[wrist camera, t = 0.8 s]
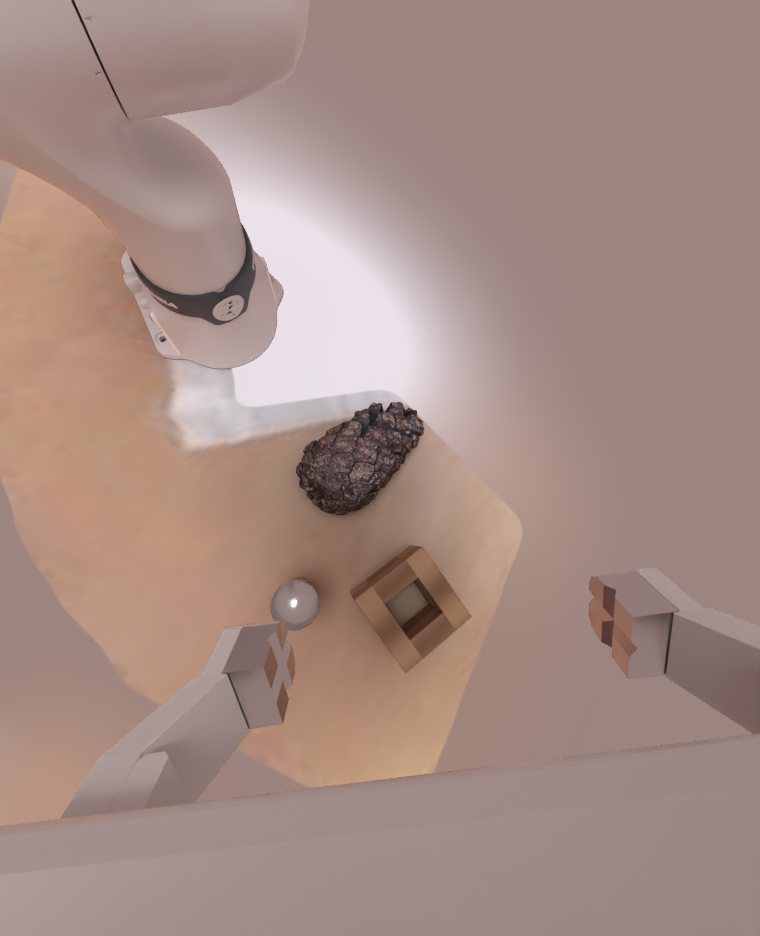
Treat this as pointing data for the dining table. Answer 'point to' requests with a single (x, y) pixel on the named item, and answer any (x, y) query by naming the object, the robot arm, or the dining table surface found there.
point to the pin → (295, 604)
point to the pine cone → (358, 457)
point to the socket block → (425, 625)
